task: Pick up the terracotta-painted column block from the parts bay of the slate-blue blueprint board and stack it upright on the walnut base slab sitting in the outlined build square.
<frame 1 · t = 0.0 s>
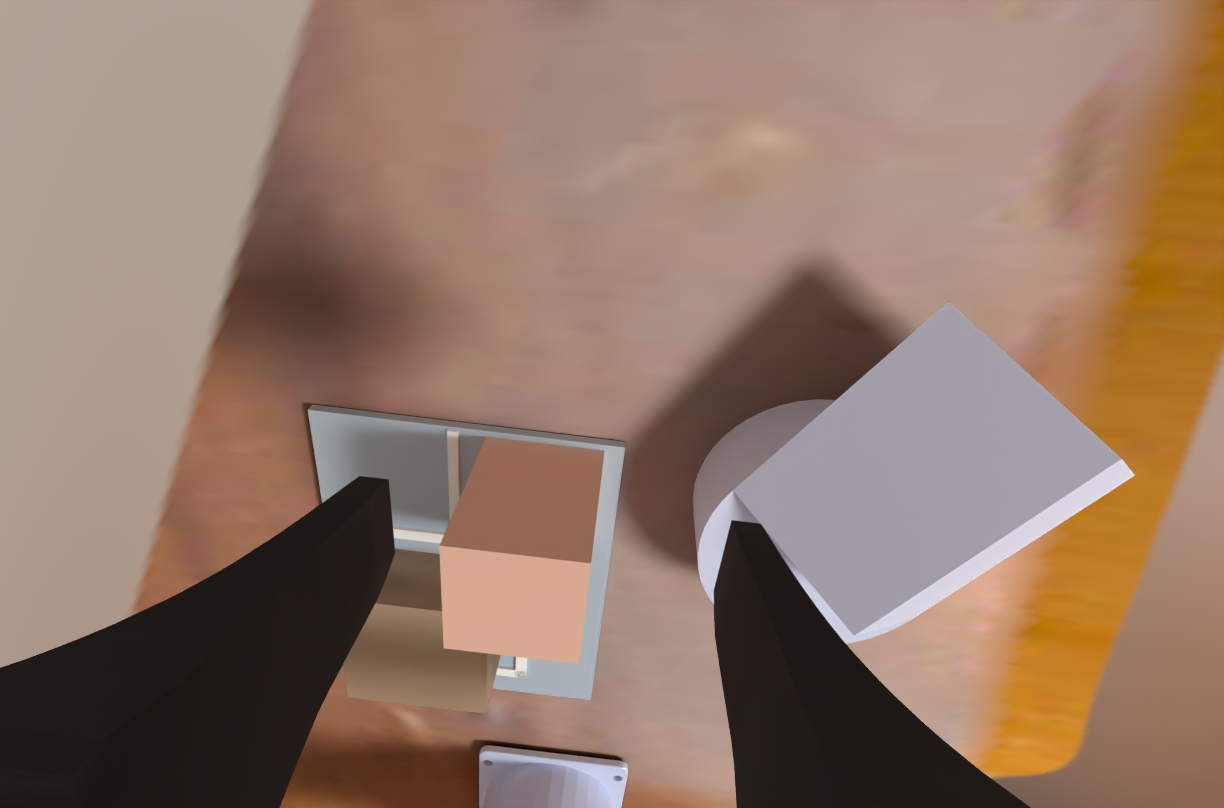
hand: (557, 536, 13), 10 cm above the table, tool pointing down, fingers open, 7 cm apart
wedge on round base: (844, 463, 24), on the table
blueprint board: (470, 567, 28), on the table
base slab: (435, 603, 28), resting on blueprint board
column block: (542, 491, 25), resting on blueprint board
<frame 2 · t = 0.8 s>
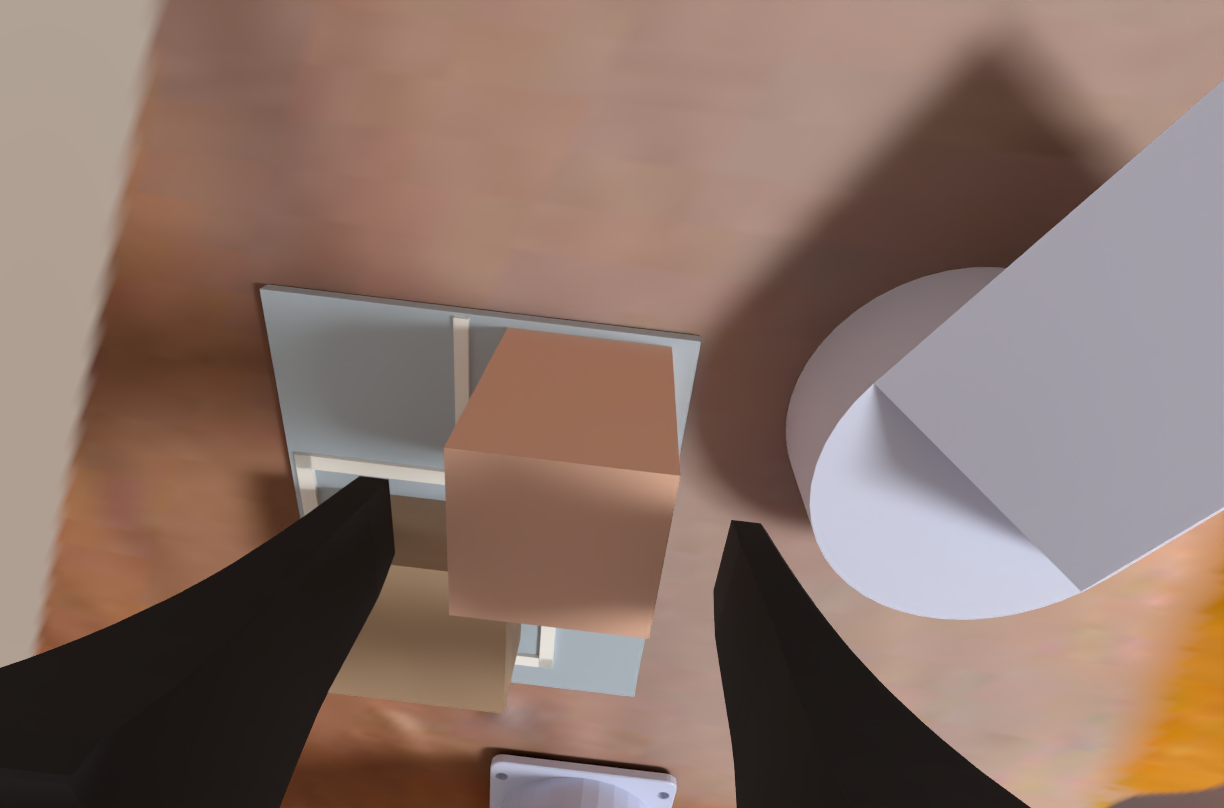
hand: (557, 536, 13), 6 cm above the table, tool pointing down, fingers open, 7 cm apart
wedge on round base: (1000, 367, 18), on the table
blueprint board: (482, 521, 21), on the table
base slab: (436, 568, 22), resting on blueprint board
column block: (583, 408, 18), resting on blueprint board
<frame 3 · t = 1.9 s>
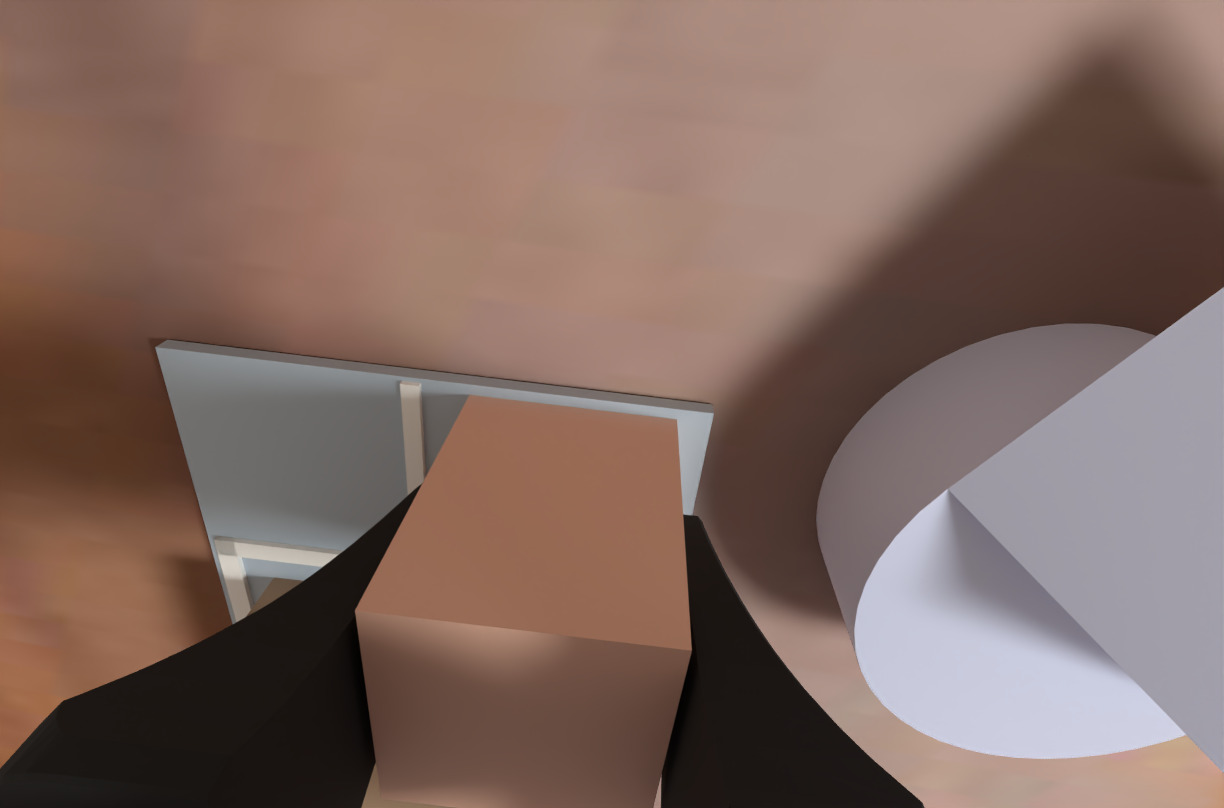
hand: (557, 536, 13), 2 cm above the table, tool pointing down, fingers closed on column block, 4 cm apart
wedge on round base: (1088, 442, 14), on the table
blueprint board: (448, 612, 18), on the table
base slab: (394, 665, 18), resting on blueprint board
column block: (566, 490, 15), resting on blueprint board, touching gripper
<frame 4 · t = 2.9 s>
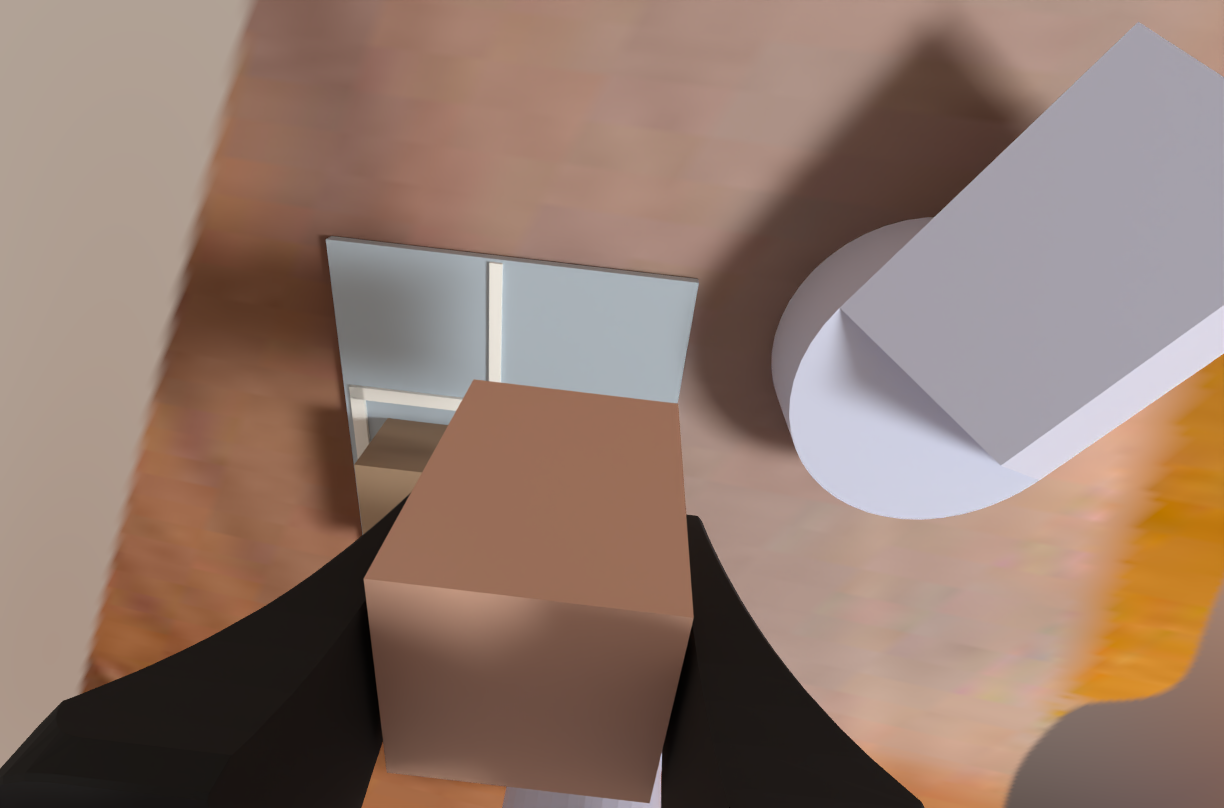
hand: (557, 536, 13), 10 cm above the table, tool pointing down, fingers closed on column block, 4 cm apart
wedge on round base: (953, 306, 21), on the table
blueprint board: (509, 448, 24), on the table
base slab: (468, 491, 25), resting on blueprint board
column block: (568, 475, 15), point 8 cm above the table, touching gripper
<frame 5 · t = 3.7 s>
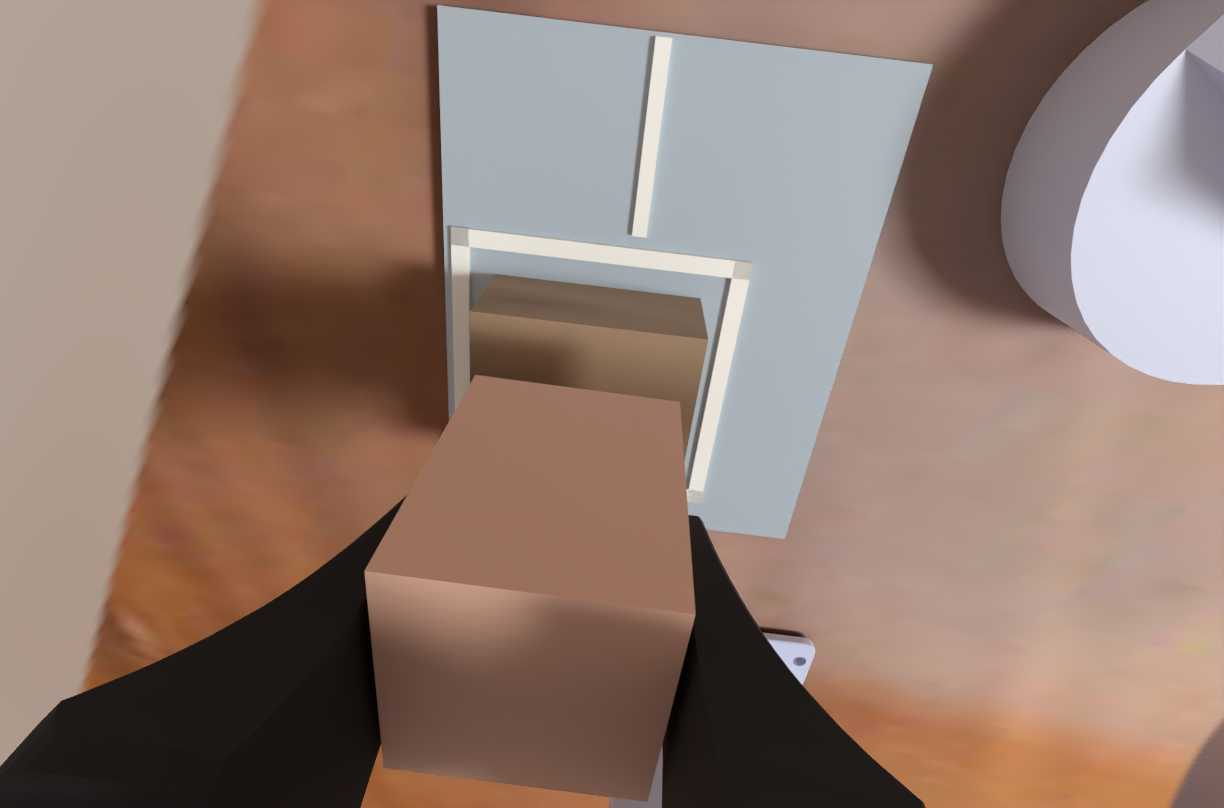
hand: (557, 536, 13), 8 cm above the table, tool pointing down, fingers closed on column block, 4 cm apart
blueprint board: (645, 319, 19), on the table
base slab: (589, 377, 20), resting on blueprint board
column block: (569, 472, 15), point 6 cm above the table, touching gripper
when the fingers open (6 cm above the table, at t = 4.4 s): column block drops 1 cm, resting on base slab.
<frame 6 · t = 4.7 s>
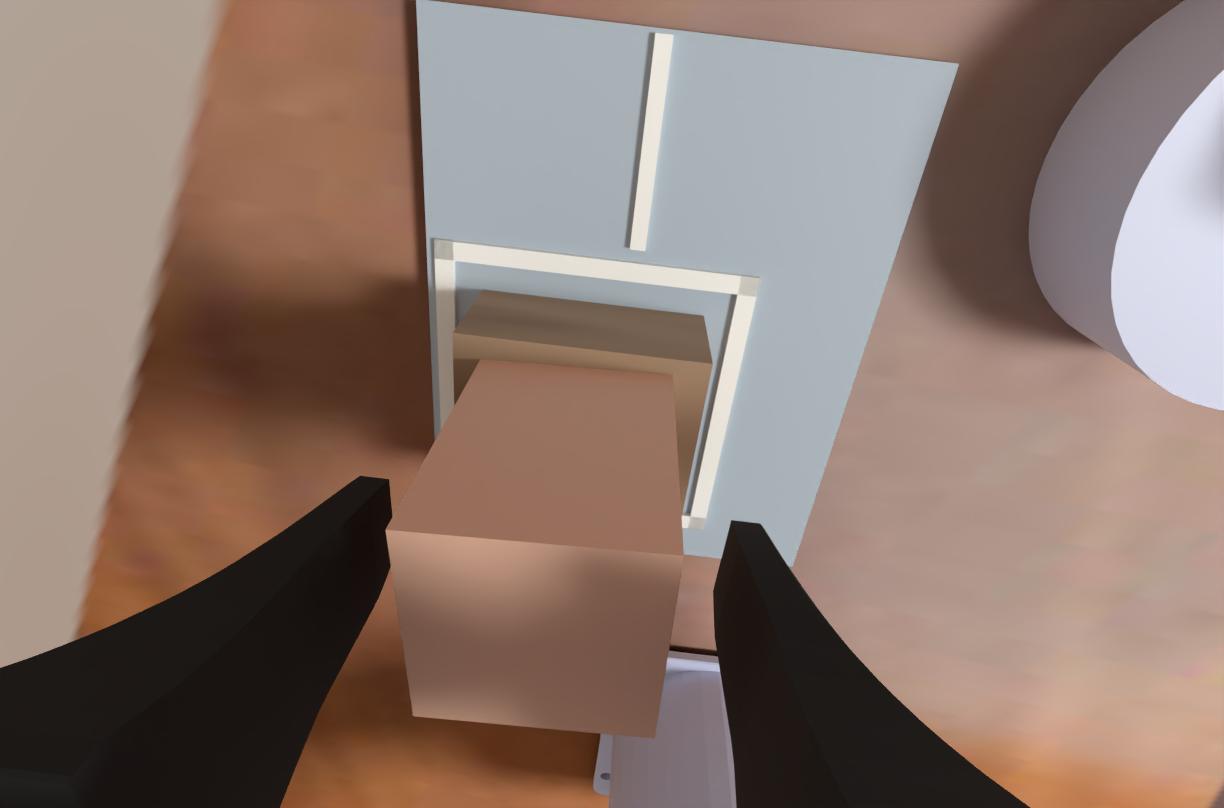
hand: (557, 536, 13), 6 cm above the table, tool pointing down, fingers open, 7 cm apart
blueprint board: (644, 337, 18), on the table
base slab: (584, 398, 19), resting on blueprint board, touching column block
column block: (573, 447, 16), point 3 cm above the table, touching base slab
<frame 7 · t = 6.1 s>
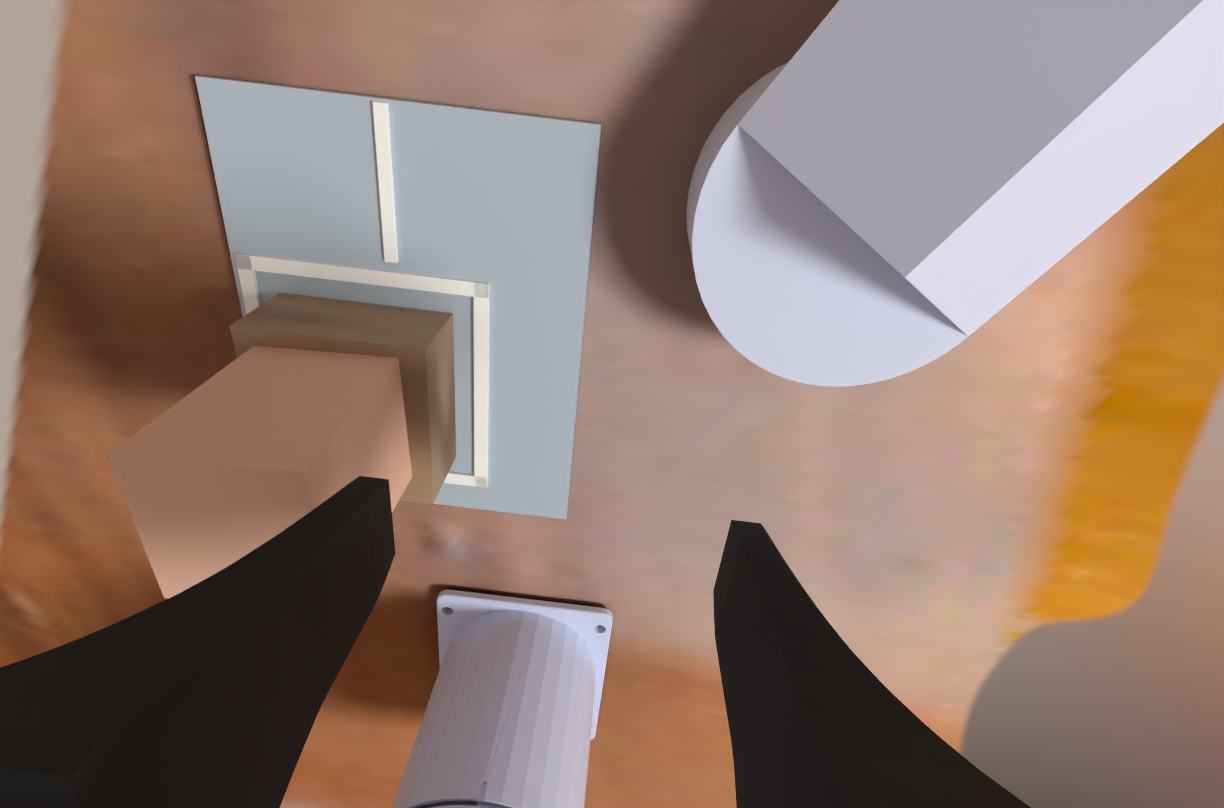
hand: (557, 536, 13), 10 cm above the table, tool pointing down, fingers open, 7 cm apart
wedge on round base: (879, 155, 19), on the table
blueprint board: (415, 330, 23), on the table
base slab: (373, 379, 23), resting on blueprint board, touching column block
column block: (337, 414, 20), point 3 cm above the table, touching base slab
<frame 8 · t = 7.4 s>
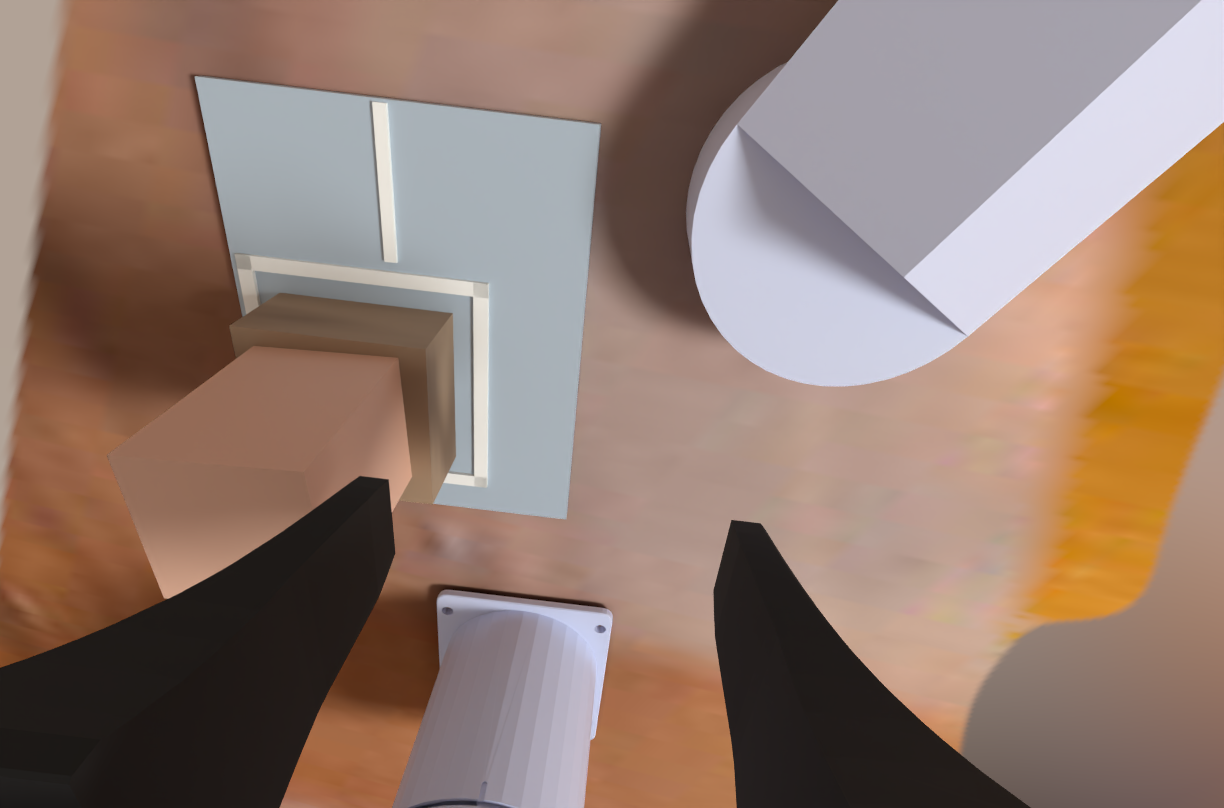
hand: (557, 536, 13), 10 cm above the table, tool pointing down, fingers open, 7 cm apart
wedge on round base: (878, 155, 19), on the table
blueprint board: (414, 330, 23), on the table
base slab: (373, 379, 23), resting on blueprint board, touching column block
column block: (336, 414, 20), point 3 cm above the table, touching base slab
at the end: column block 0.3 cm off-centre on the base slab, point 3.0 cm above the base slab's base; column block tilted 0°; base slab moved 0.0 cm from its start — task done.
